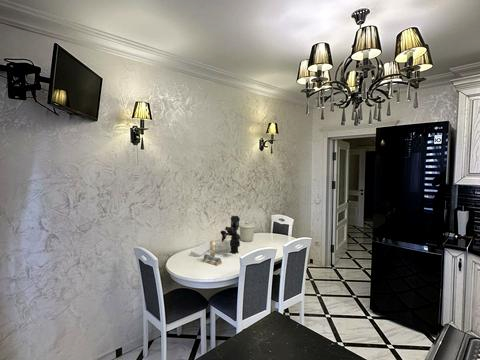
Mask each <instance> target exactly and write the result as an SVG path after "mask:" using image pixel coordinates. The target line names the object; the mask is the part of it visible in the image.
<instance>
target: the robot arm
mask: <svg viewBox="0 0 480 360" xmlns="http://www.w3.org/2000/svg"><path fill="white" fill-rule="evenodd" d="M240 220H241V219H240V217H239V215H231V217H230V226H225V228H224V229H223V230H221V231H220V234H221V242H222V243H224V241H225V240H226V238H227V236H229V237H230V236H231V237H230V240H229V247H230V251H229V253H232V254H234V255H236V254H238V253H240V251H239V247H240V246H241V241H240V240H241V238H240V233H238V230H239V225H240Z"/></svg>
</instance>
